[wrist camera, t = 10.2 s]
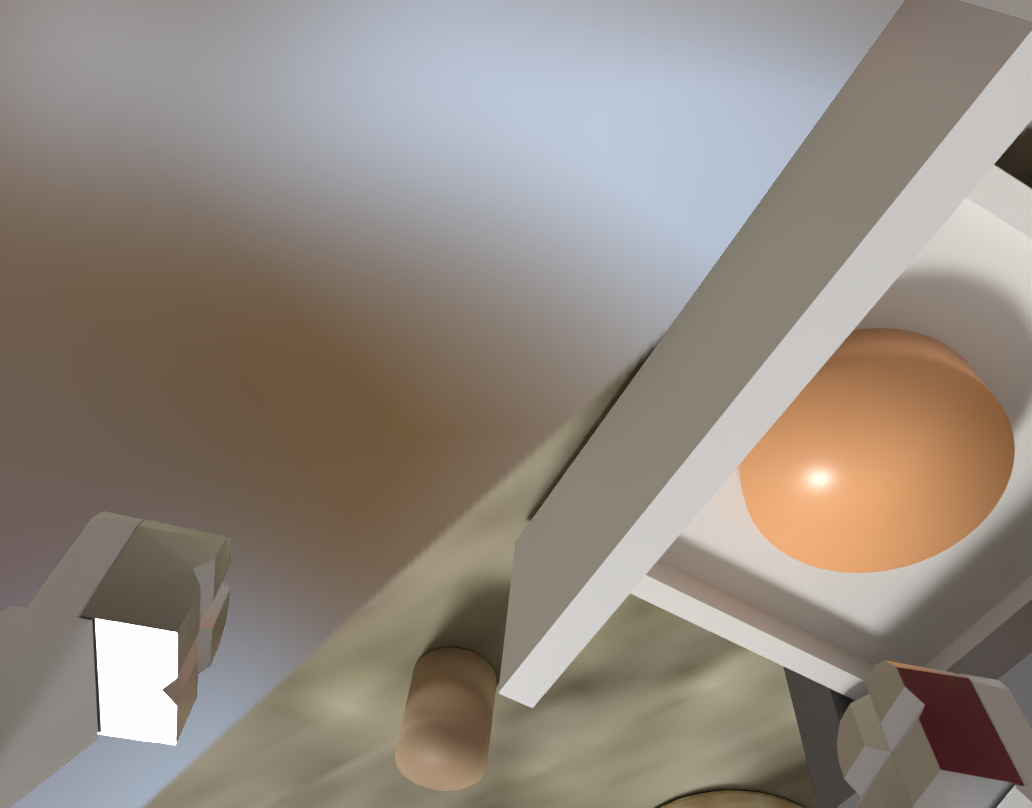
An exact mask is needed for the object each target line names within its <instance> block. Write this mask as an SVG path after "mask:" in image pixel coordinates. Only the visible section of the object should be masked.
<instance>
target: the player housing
mask: <svg viewBox="0 0 1032 808" xmlns="http://www.w3.org/2000/svg"><path fill="white" fill-rule="evenodd" d="M783 667H784V666H783ZM784 671H785V675H786V679H787V683H788V687H789V691H790V695H791V699H792V703H793V707H794V711H795V715H796V719H797V723H798V727H799V731H800V735H801V739H802V743H803V747H804V751H805V755H806V759H807V763H808V767H809V771H810V775H811V779H812V783H813V787H814V791H815V795H816V799H817V803H818V807H819V808H856V807H857V804H858V802H859V800H860V798H861V796H860V795H859V794H858V793H857V792H856V791H855V790H854V789H853V788H852V787H851V786H850V785H849V783H848V782H847V781H846V780H845V779H844V777H843V774H842V770H841V767H840V764H839V760H838V751H837V738H838V731H839V725H840V721H841V719H842V717H843V715H844V713H845V712H846V710H847V708H848V706H849V704H850V703H852V702H854V701H855V700H853V699H851V698H849V697H847V696H845V695H843V694H841V693H839V692H836V691H834V690H832V689H830V688H828V687H826V686H824V685H822V684H820V683H818V682H815V681H813V680H811V679H809V678H807V677H805V676H803V675H801V674H799V673H797V672H795V671H792V670H790V669H788V668H786V667H784ZM946 671H947V672H953V673H956V674H966V675H972V676H977V677H983V678H989V679H995V680H999V681H1000V682H1002V683H1003V684H1004V685H1005V686H1006V687H1008V689H1009V690H1010V691H1011V693H1012V695H1013V696H1014V698H1015V700H1016V702H1017V704H1018V705H1019V707H1020V709H1021V711H1022V712H1023V714H1024V716H1025V718H1026V720H1027V721H1028V723H1029V725H1030V727H1031V728H1032V599H1031V600H1030V601H1029V602H1028V603H1026V604H1025V605H1024V606H1023V607H1022V608H1020V609H1019V610H1018V611H1017V612H1016V613H1014V614H1013V615H1012V616H1011V617H1010V618H1008V619H1007V620H1006V621H1005V622H1004V623H1002V624H1001V625H1000V626H999V627H998V628H996V629H995V630H994V631H993V632H992V633H990V634H989V635H988V636H987V637H986V638H984V639H983V640H982V641H981V642H980V643H979V644H977V645H976V646H975V647H974V648H973V649H971V650H970V651H969V652H968V653H967V654H965V655H964V656H963V657H962V658H961V659H959V660H958V661H957V662H956V663H955V664H953V665H952V666H951V667H950V668H949V669H947V670H946Z"/></svg>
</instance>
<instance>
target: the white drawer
mask: <svg viewBox="0 0 1032 808" xmlns="http://www.w3.org/2000/svg"><path fill="white" fill-rule="evenodd" d="M1031 120H1032V22H1029V21H1026V20H1022V19H1018V18H1016V17H1012V16H1009V15H1005V14H1002V13H998V12H995V11H992V10H989V9H985V8H982V7H978V6H975V5H972V4H968V3H965V2H961V1H958V0H905V2H904V3H903V4H902V6H901V7H900V9H899V10H898V11H897V13H896V14H895V15H894V17H893V18H892V20H891V21H890V23H889V24H888V25H887V27H886V28H885V29H884V31H883V32H882V33H881V35H880V37H879V38H878V39H877V40H876V42H875V43H874V45H873V46H872V47H871V49H870V50H869V52H868V53H867V54H866V56H865V57H864V59H863V60H862V61H861V63H860V64H859V65H858V67H857V68H856V70H855V71H854V72H853V74H852V75H851V77H850V78H849V79H848V81H847V82H846V83H845V85H844V86H843V88H842V89H841V91H840V92H839V93H838V95H837V96H836V98H835V99H834V100H833V102H832V103H831V104H830V106H829V107H828V109H827V110H826V111H825V113H824V114H823V116H822V117H821V118H820V120H819V121H818V122H817V124H816V125H815V127H814V128H813V129H812V131H811V132H810V134H809V135H808V136H807V138H806V139H805V140H804V142H803V143H802V145H801V146H800V147H799V149H798V150H797V152H796V153H795V154H794V156H793V157H792V159H791V160H790V161H789V163H788V164H787V165H786V167H785V168H784V170H783V171H782V173H781V174H780V175H779V177H778V178H777V179H776V181H775V182H774V184H773V185H772V186H771V188H770V189H769V190H768V192H767V193H766V195H765V196H764V197H763V199H762V200H761V202H760V203H759V205H758V206H757V207H756V209H755V210H754V211H753V213H752V214H751V215H750V217H749V218H748V220H747V221H746V222H745V224H744V225H743V227H742V228H741V229H740V231H739V232H738V234H737V235H736V236H735V238H734V239H733V240H732V242H731V243H730V245H729V246H728V248H727V249H726V250H725V252H724V253H723V254H722V256H721V257H720V259H719V260H718V261H717V263H716V264H715V266H714V267H713V268H712V270H711V271H710V272H709V274H708V275H707V277H706V278H705V279H704V281H703V282H702V284H701V285H700V286H699V288H698V289H697V291H696V292H695V293H694V295H693V296H692V298H691V299H690V300H689V302H688V303H687V304H686V306H685V307H684V309H683V310H682V312H681V313H680V314H679V315H678V317H677V318H676V320H675V321H674V322H673V324H672V325H671V327H670V328H669V329H668V331H667V332H666V334H665V335H664V336H663V338H662V339H661V340H660V342H659V343H658V345H657V346H656V347H655V349H654V350H653V352H652V353H651V354H650V356H649V357H648V359H647V360H646V361H645V363H644V364H643V366H642V367H641V368H640V370H639V371H638V372H637V374H636V375H635V377H634V378H633V379H632V381H631V382H630V384H629V385H628V386H627V388H626V389H625V391H624V392H623V393H622V395H621V396H620V397H619V399H618V400H617V402H616V403H615V404H614V406H613V407H612V409H611V410H610V411H609V413H608V414H607V416H606V417H605V418H604V420H603V421H602V422H601V424H600V425H599V427H598V428H597V429H596V431H595V432H594V434H593V435H592V436H591V438H590V439H589V441H588V442H587V443H586V445H585V446H584V447H583V449H582V450H581V452H580V453H579V454H578V456H577V457H576V459H575V460H574V461H573V463H572V464H571V466H570V467H569V468H568V470H567V471H566V472H565V474H564V475H563V477H562V478H561V479H560V481H559V482H558V484H557V485H556V486H555V488H554V489H553V491H552V492H551V493H550V495H549V496H548V497H547V499H546V500H545V502H544V503H543V504H542V506H541V507H540V509H539V510H538V511H537V513H536V514H535V516H534V517H533V518H532V520H531V521H530V522H529V524H528V525H527V527H526V528H525V529H524V531H523V532H522V534H521V535H520V536H519V538H518V539H517V541H516V542H515V551H514V559H513V568H512V577H511V586H510V594H509V603H508V612H507V620H506V629H505V638H504V647H503V655H502V664H501V673H500V682H499V690H498V693H499V694H501V695H504V696H506V697H508V698H511V699H513V700H515V701H517V702H520V703H522V704H524V705H527V706H529V707H531V708H533V707H534V706H535V704H536V703H537V702H538V701H539V700H540V699H541V697H542V696H543V695H544V694H545V693H546V692H547V690H548V689H549V688H550V687H551V686H552V684H553V683H554V682H555V681H556V680H557V679H558V677H559V676H560V675H561V674H562V673H563V672H564V670H565V669H566V668H567V667H568V666H569V664H570V663H571V662H572V661H573V660H574V659H575V657H576V656H577V655H578V654H579V653H580V651H581V650H582V649H583V648H584V647H585V646H586V644H587V643H588V642H589V641H590V640H591V639H592V637H593V636H594V635H595V634H596V633H597V631H598V630H599V629H600V628H601V627H602V626H603V624H604V623H605V622H606V621H607V620H608V618H609V617H610V616H611V615H612V614H613V613H614V611H615V610H616V609H617V608H618V607H619V606H620V604H621V603H622V602H623V601H624V600H625V598H626V597H627V596H628V595H629V594H630V593H631V594H633V595H635V596H637V597H639V598H641V599H643V600H646V601H648V602H650V603H652V604H654V605H656V606H658V607H660V608H662V609H664V610H667V611H669V612H671V613H673V614H675V615H677V616H679V617H681V618H683V619H685V620H688V621H690V622H692V623H694V624H696V625H698V626H700V627H702V628H704V629H706V630H708V631H711V632H713V633H715V634H717V635H719V636H721V637H723V638H725V639H727V640H729V641H732V642H734V643H736V644H738V645H740V646H742V647H744V648H746V649H748V650H750V651H753V652H755V653H757V654H759V655H761V656H763V657H765V658H767V659H769V660H771V661H774V662H776V663H778V664H780V665H782V666H784V667H786V668H788V669H790V670H792V671H795V672H797V673H799V674H801V675H803V676H805V677H807V678H809V679H811V680H813V681H815V682H818V683H820V684H822V685H824V686H826V687H828V688H830V689H832V690H834V691H836V692H839V693H841V694H843V695H845V696H847V697H849V698H851V699H853V700H855V701H856V700H858V699H860V698H862V697H863V696H865V695H867V694H869V692H868V689H867V686H866V682H865V679H866V677H867V676H868V674H869V673H870V671H871V670H872V668H873V667H874V666H875V665H877V664H878V663H880V662H881V661H883V660H886V661H891V662H897V663H902V664H908V665H914V666H919V667H925V668H930V669H936V670H941V671H946V670H947V669H949V668H950V667H951V666H952V665H953V664H955V663H956V662H957V661H958V660H959V659H961V658H962V657H963V656H964V655H965V654H967V653H968V652H969V651H970V650H971V649H973V648H974V647H975V646H976V645H977V644H979V643H980V642H981V641H982V640H983V639H984V638H986V637H987V636H988V635H989V634H990V633H992V632H993V631H994V630H995V629H996V628H998V627H999V626H1000V625H1001V624H1002V623H1004V622H1005V621H1006V620H1007V619H1008V618H1010V617H1011V616H1012V615H1013V614H1014V613H1016V612H1017V611H1018V610H1019V609H1020V608H1022V607H1023V606H1024V605H1025V604H1026V603H1028V602H1029V601H1030V600H1031V599H1032V188H1031V187H1029V186H1028V185H1026V184H1024V183H1023V182H1021V181H1020V180H1018V179H1017V178H1015V177H1014V176H1012V175H1010V174H1009V173H1007V172H1006V171H1004V170H1003V169H1001V168H1000V167H998V166H997V165H995V163H996V161H997V160H998V159H999V158H1000V157H1001V156H1002V154H1003V153H1004V152H1005V151H1006V150H1007V148H1008V147H1009V146H1010V145H1011V144H1012V143H1013V141H1014V140H1015V139H1016V138H1017V137H1018V136H1019V134H1020V133H1021V132H1022V131H1023V130H1024V128H1025V127H1026V126H1027V125H1028V124H1029V123H1030V121H1031ZM873 328H887V329H900V330H905V331H910V332H916V333H919V334H922V335H925V336H928V337H931V338H933V339H935V340H937V341H939V342H941V343H943V344H945V345H947V346H948V347H950V348H951V349H952V350H954V351H955V352H957V353H958V354H959V355H960V356H961V357H962V358H963V359H964V360H965V361H967V362H968V363H969V365H970V366H971V367H972V368H973V370H974V371H975V372H976V374H977V375H978V376H979V377H980V379H981V380H982V381H983V382H984V384H985V385H986V386H987V387H988V389H989V390H990V391H991V393H992V394H993V395H994V396H995V398H996V399H997V400H998V402H999V403H1000V404H1001V406H1002V407H1003V409H1004V411H1005V413H1006V415H1007V417H1008V419H1009V421H1010V424H1011V428H1012V431H1013V435H1014V444H1015V454H1014V464H1013V469H1012V473H1011V477H1010V479H1009V482H1008V484H1007V487H1006V489H1005V491H1004V493H1003V495H1002V497H1001V498H1000V500H999V502H998V503H997V505H996V506H995V508H994V509H993V510H992V511H991V513H990V514H989V515H988V517H987V518H986V519H985V520H984V521H983V522H982V523H981V524H980V525H979V526H978V527H977V528H976V529H975V530H973V531H972V532H971V533H970V534H969V535H967V536H966V537H965V538H964V539H962V540H961V541H959V542H958V543H956V544H955V545H953V546H952V547H950V548H948V549H947V550H945V551H943V552H941V553H939V554H937V555H935V556H933V557H931V558H928V559H926V560H923V561H921V562H918V563H915V564H912V565H909V566H905V567H902V568H897V569H892V570H888V571H880V572H871V573H847V572H836V571H830V570H825V569H820V568H817V567H814V566H810V565H807V564H805V563H802V562H800V561H798V560H795V559H793V558H791V557H790V556H788V555H786V554H785V553H783V552H781V551H780V550H779V549H777V548H776V547H775V546H773V545H772V544H771V543H770V542H769V541H768V540H767V539H766V538H765V537H764V536H763V535H762V534H761V533H760V531H759V530H758V528H757V527H756V525H755V524H754V523H753V521H752V519H751V516H750V514H749V512H748V510H747V507H746V503H745V500H744V496H743V492H742V488H741V484H740V480H739V476H738V472H737V467H738V465H739V464H740V463H741V462H742V461H743V459H744V458H745V457H746V456H747V455H748V454H749V452H750V451H751V450H752V449H753V448H754V447H755V445H756V444H757V443H758V442H759V441H760V439H761V438H762V437H763V436H764V435H765V434H766V432H767V431H768V430H769V429H770V428H771V426H772V425H773V424H774V423H775V422H776V421H777V419H778V418H779V417H780V416H781V415H782V414H783V412H784V411H785V410H786V409H787V408H788V406H789V405H790V404H791V403H792V402H793V401H794V399H795V398H796V397H797V396H798V395H799V393H800V392H801V391H802V390H803V389H804V388H805V386H806V385H807V384H808V383H809V382H810V381H811V379H812V378H813V377H814V376H815V375H816V373H817V372H818V371H819V370H820V369H821V368H822V366H823V365H824V364H825V363H826V362H827V361H828V359H829V358H830V357H831V356H832V355H833V353H834V352H835V351H836V350H837V349H838V348H839V346H840V345H841V344H842V343H843V342H844V340H845V339H846V338H847V337H848V336H849V335H850V333H851V332H852V331H854V330H860V329H873Z"/></svg>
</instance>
